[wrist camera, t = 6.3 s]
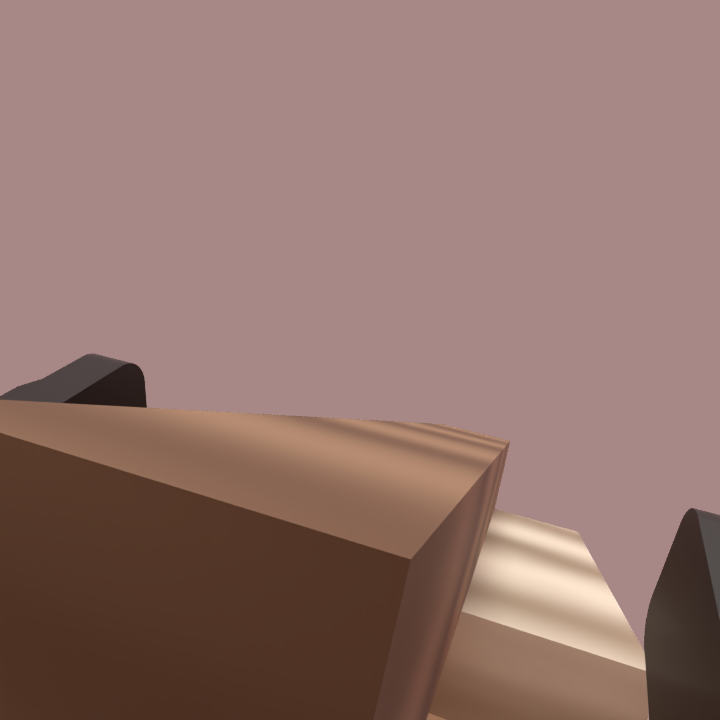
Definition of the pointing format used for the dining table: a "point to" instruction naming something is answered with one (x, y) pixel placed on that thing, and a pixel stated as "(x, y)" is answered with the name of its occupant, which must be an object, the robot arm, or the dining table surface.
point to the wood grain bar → (232, 562)
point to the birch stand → (540, 635)
